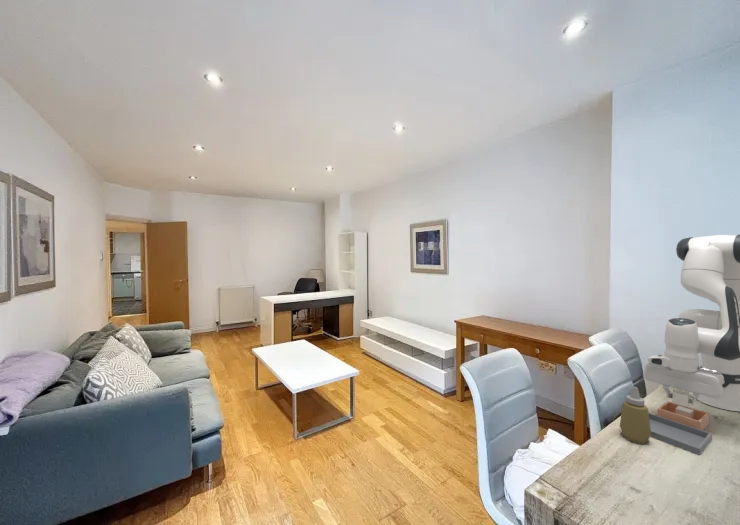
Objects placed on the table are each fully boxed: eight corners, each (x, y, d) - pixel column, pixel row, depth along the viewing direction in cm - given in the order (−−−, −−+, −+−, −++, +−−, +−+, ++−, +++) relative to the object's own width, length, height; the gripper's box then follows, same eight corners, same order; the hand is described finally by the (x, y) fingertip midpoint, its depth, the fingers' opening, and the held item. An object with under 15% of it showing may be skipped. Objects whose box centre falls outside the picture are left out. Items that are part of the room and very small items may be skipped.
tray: (645, 418, 116) (645, 411, 116) (712, 441, 102) (712, 433, 101) (629, 430, 108) (629, 423, 108) (699, 457, 94) (699, 448, 94)
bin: (667, 412, 120) (667, 400, 120) (708, 425, 111) (709, 413, 111) (657, 420, 115) (657, 408, 114) (700, 435, 105) (700, 422, 105)
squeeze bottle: (657, 448, 98) (658, 393, 98) (628, 445, 100) (629, 391, 99) (640, 434, 106) (641, 383, 106) (614, 431, 107) (614, 381, 107)
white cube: (678, 415, 117) (678, 405, 116) (693, 420, 113) (693, 410, 113) (675, 418, 114) (675, 408, 114) (690, 423, 111) (690, 413, 111)
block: (673, 399, 114) (673, 389, 114) (688, 403, 111) (688, 392, 111) (672, 403, 111) (672, 392, 111) (688, 407, 108) (688, 396, 108)
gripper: (726, 370, 104) (725, 410, 104) (648, 354, 121) (648, 388, 121) (721, 374, 100) (721, 415, 101) (642, 357, 118) (642, 392, 118)
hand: (680, 400), depth 111 cm, fingers closed on block, 4 cm apart
